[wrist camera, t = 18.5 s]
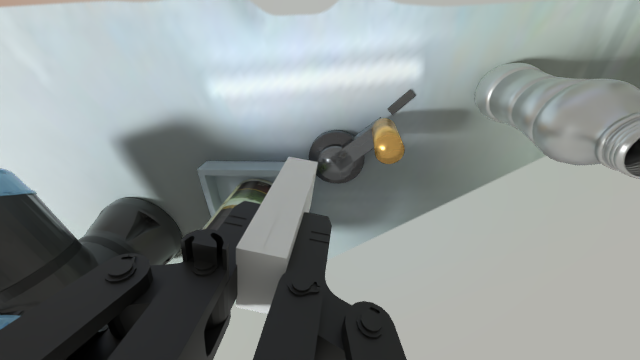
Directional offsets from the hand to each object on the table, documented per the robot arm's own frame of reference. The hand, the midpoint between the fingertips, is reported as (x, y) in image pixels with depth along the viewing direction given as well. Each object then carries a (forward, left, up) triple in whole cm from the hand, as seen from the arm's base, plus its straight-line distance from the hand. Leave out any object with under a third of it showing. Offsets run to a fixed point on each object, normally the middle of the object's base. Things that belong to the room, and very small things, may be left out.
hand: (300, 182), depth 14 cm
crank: (+3, -7, -23) cm, 24 cm away
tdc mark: (+8, -1, -24) cm, 26 cm away
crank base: (0, -9, -24) cm, 26 cm away
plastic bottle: (+20, 0, -25) cm, 32 cm away
